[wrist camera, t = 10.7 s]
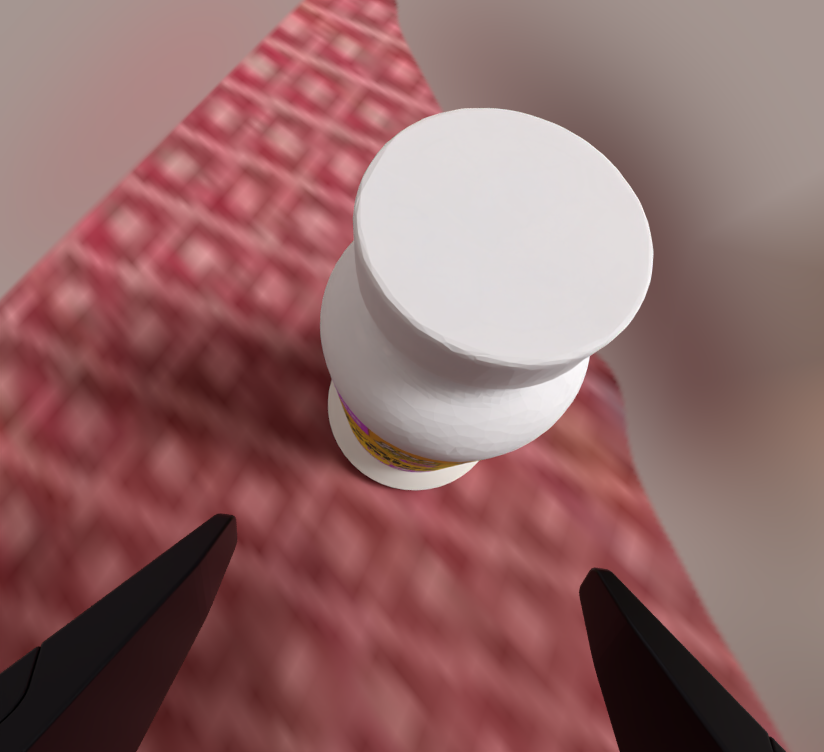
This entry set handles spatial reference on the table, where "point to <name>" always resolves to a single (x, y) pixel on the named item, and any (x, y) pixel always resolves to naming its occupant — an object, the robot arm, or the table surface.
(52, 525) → the table surface
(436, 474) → the cream round disc
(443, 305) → the supplement bottle
